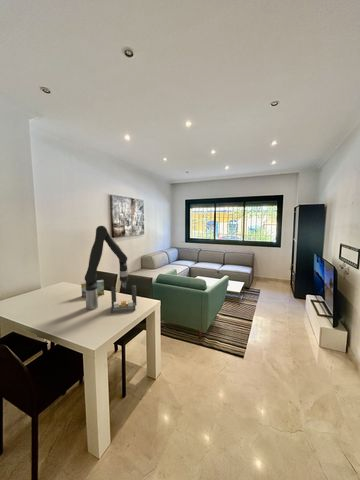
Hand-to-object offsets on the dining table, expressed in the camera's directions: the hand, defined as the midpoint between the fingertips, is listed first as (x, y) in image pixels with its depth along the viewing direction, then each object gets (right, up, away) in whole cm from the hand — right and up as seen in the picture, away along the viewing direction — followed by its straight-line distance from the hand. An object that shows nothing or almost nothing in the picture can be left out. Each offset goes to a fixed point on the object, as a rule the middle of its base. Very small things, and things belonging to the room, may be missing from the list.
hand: (124, 292), depth 187 cm
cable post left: (-7, -11, -8) cm, 15 cm away
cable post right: (+10, -10, -4) cm, 15 cm away
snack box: (-38, -8, +19) cm, 43 cm away
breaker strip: (+4, -11, -15) cm, 19 cm away
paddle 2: (+10, -7, -14) cm, 18 cm away
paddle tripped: (+4, -7, -15) cm, 17 cm away
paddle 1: (-2, -7, -17) cm, 18 cm away
